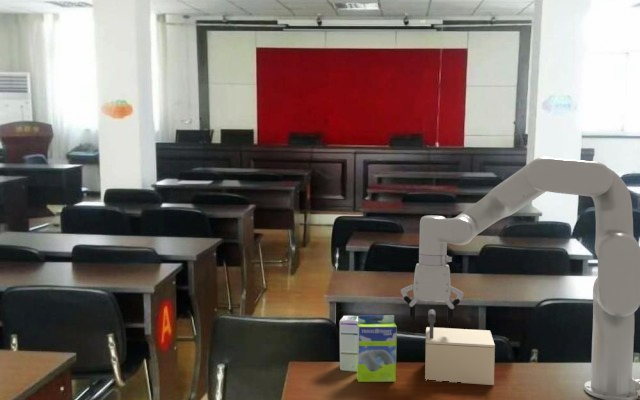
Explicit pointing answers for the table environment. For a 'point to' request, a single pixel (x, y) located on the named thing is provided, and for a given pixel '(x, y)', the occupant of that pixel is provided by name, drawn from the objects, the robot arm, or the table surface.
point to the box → (376, 349)
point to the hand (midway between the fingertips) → (431, 320)
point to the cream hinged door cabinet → (460, 363)
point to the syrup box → (348, 343)
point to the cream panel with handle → (456, 335)
